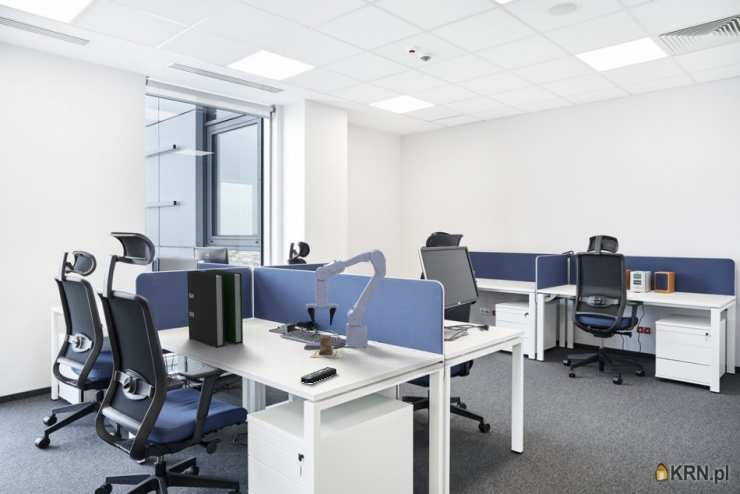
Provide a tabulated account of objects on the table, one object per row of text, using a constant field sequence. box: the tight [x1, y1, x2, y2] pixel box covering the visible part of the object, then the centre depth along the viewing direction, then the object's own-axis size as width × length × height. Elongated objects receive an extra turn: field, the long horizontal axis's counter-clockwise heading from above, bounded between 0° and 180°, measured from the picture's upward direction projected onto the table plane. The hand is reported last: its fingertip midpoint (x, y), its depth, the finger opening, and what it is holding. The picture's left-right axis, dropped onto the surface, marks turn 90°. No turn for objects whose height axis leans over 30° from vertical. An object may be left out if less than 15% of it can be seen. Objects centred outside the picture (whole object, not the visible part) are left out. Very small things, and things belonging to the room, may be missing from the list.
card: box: [310, 349, 342, 358], centre depth 207 cm, size 11×11×1 cm
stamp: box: [319, 335, 334, 355], centre depth 207 cm, size 5×5×7 cm
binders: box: [186, 269, 244, 349], centre depth 232 cm, size 27×15×32 cm, turn 44°
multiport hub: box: [300, 366, 337, 384], centre depth 175 cm, size 4×14×2 cm, turn 145°
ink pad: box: [303, 342, 320, 350], centre depth 218 cm, size 8×6×2 cm
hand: (322, 324), depth 220 cm, fingers open, 7 cm apart
